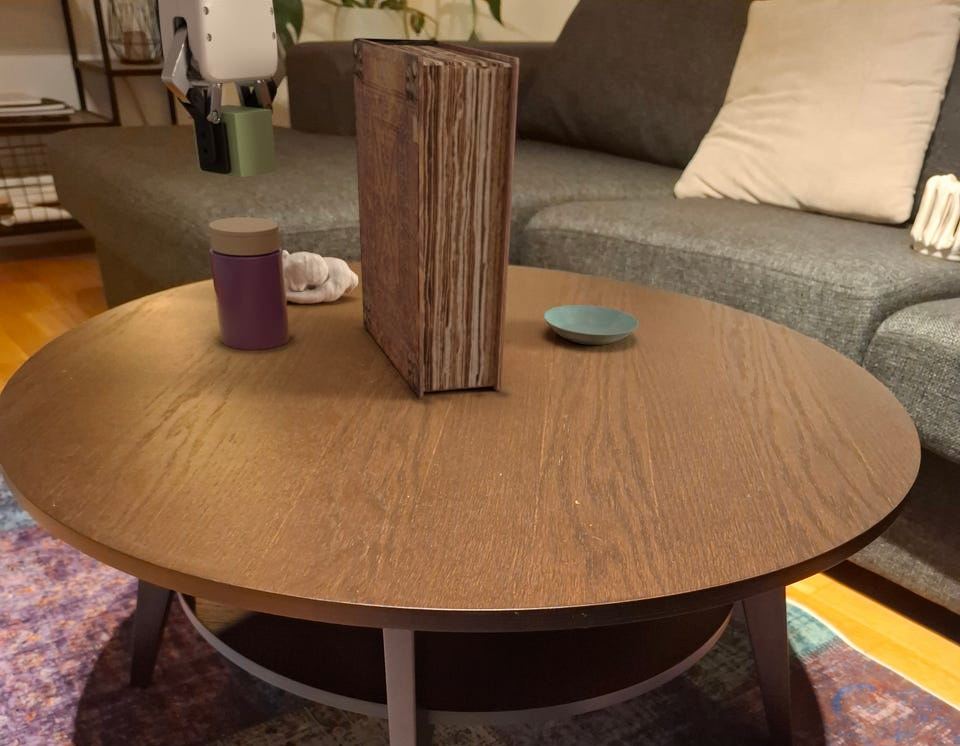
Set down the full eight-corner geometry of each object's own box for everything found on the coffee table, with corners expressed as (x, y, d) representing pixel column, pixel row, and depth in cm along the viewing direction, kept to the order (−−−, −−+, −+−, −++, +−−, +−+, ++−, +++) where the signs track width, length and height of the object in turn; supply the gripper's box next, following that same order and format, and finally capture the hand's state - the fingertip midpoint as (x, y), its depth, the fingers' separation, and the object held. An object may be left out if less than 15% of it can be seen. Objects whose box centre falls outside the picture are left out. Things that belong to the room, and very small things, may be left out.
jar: (206, 341, 105) (191, 231, 98) (250, 324, 111) (239, 219, 104) (260, 354, 102) (249, 242, 95) (303, 336, 108) (295, 228, 101)
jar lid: (196, 248, 99) (193, 225, 98) (240, 236, 105) (238, 214, 103) (250, 259, 97) (248, 235, 95) (293, 246, 102) (291, 223, 101)
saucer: (646, 331, 115) (648, 313, 114) (622, 358, 106) (625, 339, 105) (558, 317, 119) (560, 299, 117) (528, 342, 110) (530, 323, 108)
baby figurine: (365, 298, 123) (358, 254, 115) (292, 343, 120) (280, 301, 112) (328, 257, 125) (319, 210, 117) (256, 300, 122) (241, 255, 114)
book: (501, 392, 96) (520, 58, 78) (418, 400, 93) (418, 55, 75) (433, 321, 115) (436, 40, 97) (362, 325, 112) (352, 37, 95)
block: (198, 171, 83) (190, 108, 80) (235, 164, 86) (228, 104, 83) (241, 178, 81) (234, 114, 78) (276, 171, 85) (271, 109, 82)
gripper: (244, -76, 80) (265, 153, 91) (94, -92, 68) (138, 175, 79) (312, -74, 78) (325, 162, 88) (168, -91, 65) (204, 185, 76)
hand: (237, 165), depth 83 cm, fingers closed on block, 5 cm apart
